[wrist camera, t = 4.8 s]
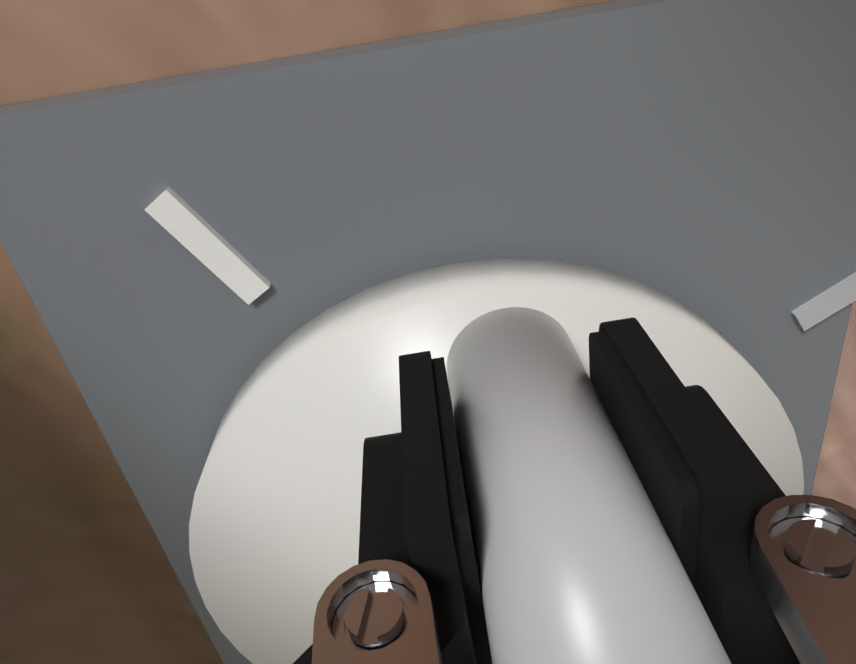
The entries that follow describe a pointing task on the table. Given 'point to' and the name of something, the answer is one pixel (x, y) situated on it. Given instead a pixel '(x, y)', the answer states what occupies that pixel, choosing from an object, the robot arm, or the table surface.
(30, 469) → the table surface
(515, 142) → the stand
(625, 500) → the white round dome
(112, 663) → the table surface
